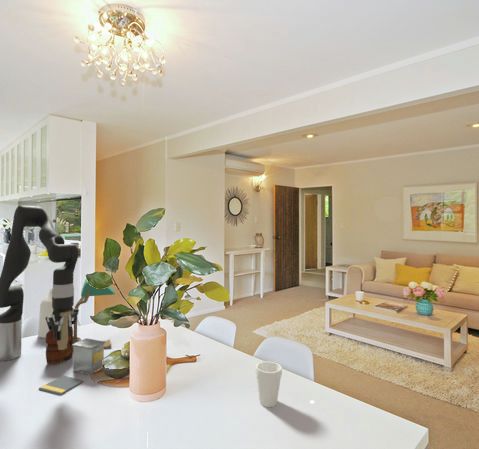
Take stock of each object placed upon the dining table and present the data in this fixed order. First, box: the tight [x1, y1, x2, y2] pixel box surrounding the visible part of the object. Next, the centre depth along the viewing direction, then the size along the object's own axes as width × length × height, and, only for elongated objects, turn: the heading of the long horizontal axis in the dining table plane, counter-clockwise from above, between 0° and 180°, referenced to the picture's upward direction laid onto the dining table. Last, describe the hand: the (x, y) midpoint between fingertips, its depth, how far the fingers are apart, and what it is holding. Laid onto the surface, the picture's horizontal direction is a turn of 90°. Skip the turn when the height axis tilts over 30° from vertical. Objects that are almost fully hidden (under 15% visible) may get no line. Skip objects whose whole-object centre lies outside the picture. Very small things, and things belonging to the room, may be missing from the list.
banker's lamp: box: [71, 278, 116, 354], centre depth 165 cm, size 16×21×35 cm
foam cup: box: [255, 360, 283, 408], centre depth 118 cm, size 10×9×13 cm
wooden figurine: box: [45, 325, 74, 366], centre depth 150 cm, size 12×6×18 cm, turn 161°
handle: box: [57, 310, 71, 350], centre depth 127 cm, size 5×6×15 cm
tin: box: [72, 338, 105, 376], centre depth 141 cm, size 11×8×12 cm
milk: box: [37, 288, 58, 339], centre depth 183 cm, size 12×12×26 cm
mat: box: [38, 375, 85, 396], centre depth 127 cm, size 11×11×1 cm
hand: (62, 338), depth 127 cm, fingers closed on handle, 4 cm apart
